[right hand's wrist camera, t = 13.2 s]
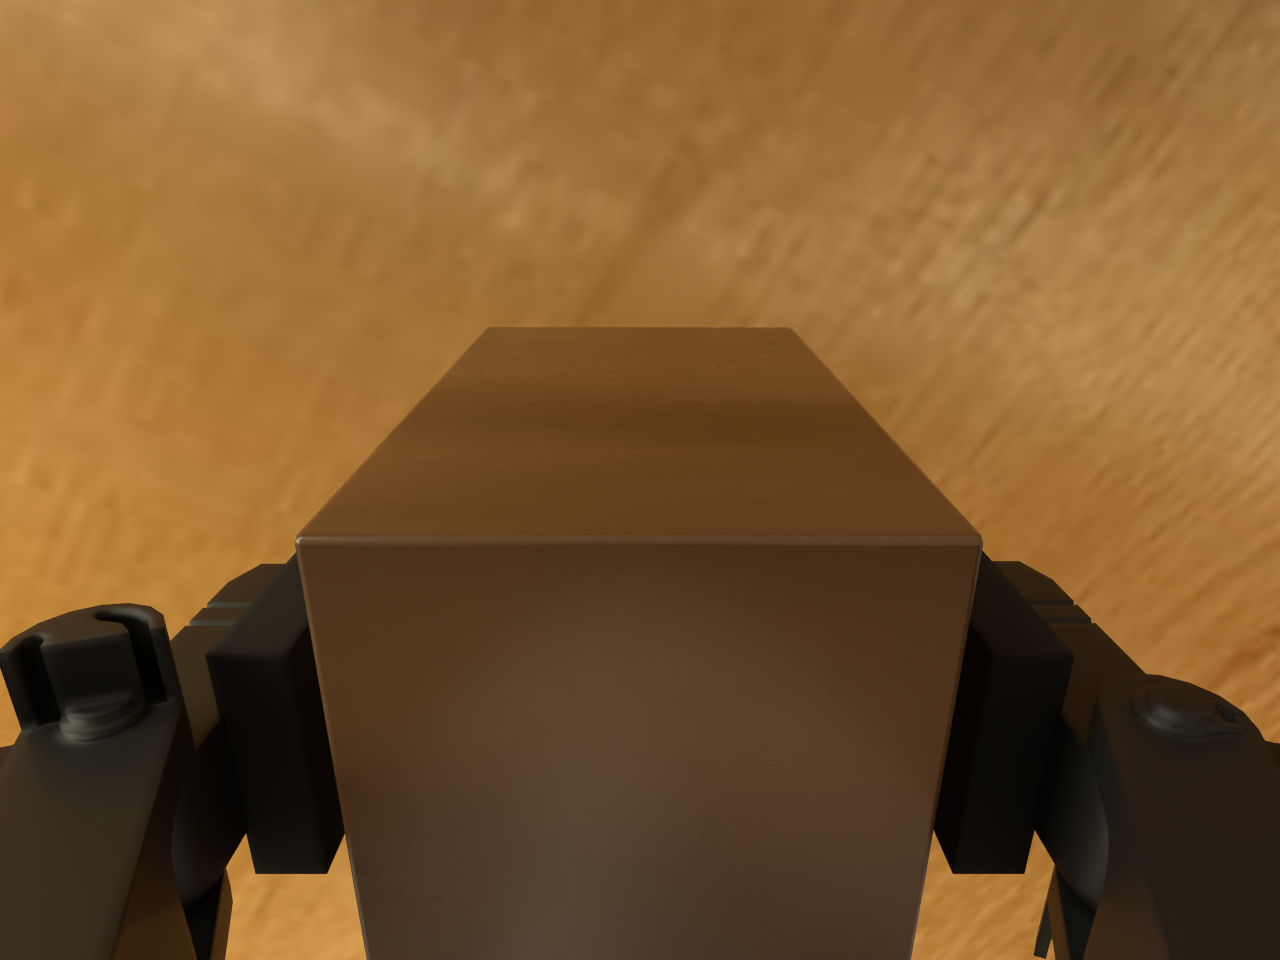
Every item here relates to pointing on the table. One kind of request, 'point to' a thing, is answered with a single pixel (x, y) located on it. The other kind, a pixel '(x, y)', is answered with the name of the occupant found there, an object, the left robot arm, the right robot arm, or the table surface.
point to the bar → (638, 656)
